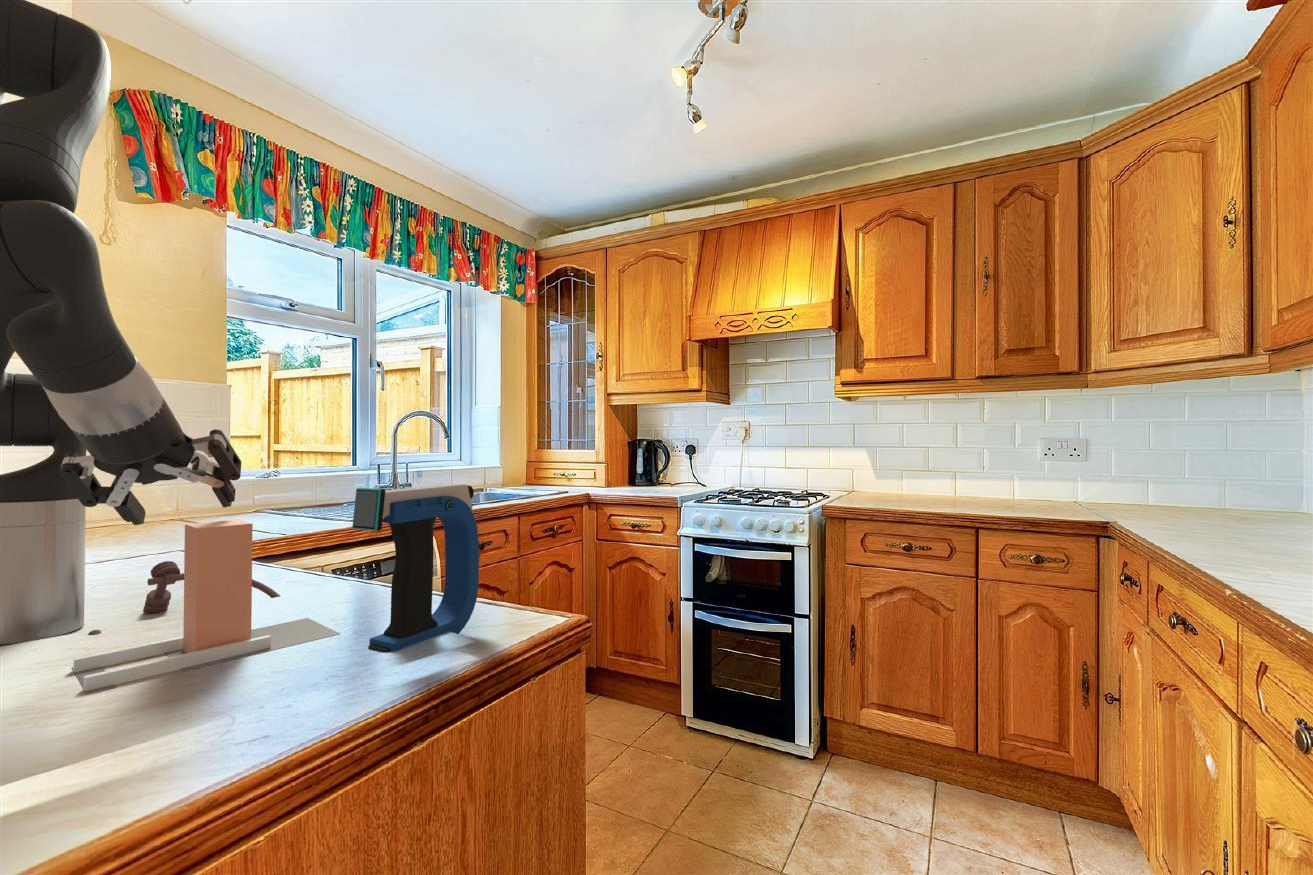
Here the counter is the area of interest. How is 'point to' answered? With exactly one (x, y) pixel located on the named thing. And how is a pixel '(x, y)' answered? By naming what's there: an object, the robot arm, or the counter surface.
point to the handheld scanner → (424, 558)
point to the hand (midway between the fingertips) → (185, 510)
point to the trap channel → (189, 654)
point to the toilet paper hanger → (160, 596)
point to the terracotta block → (217, 584)
